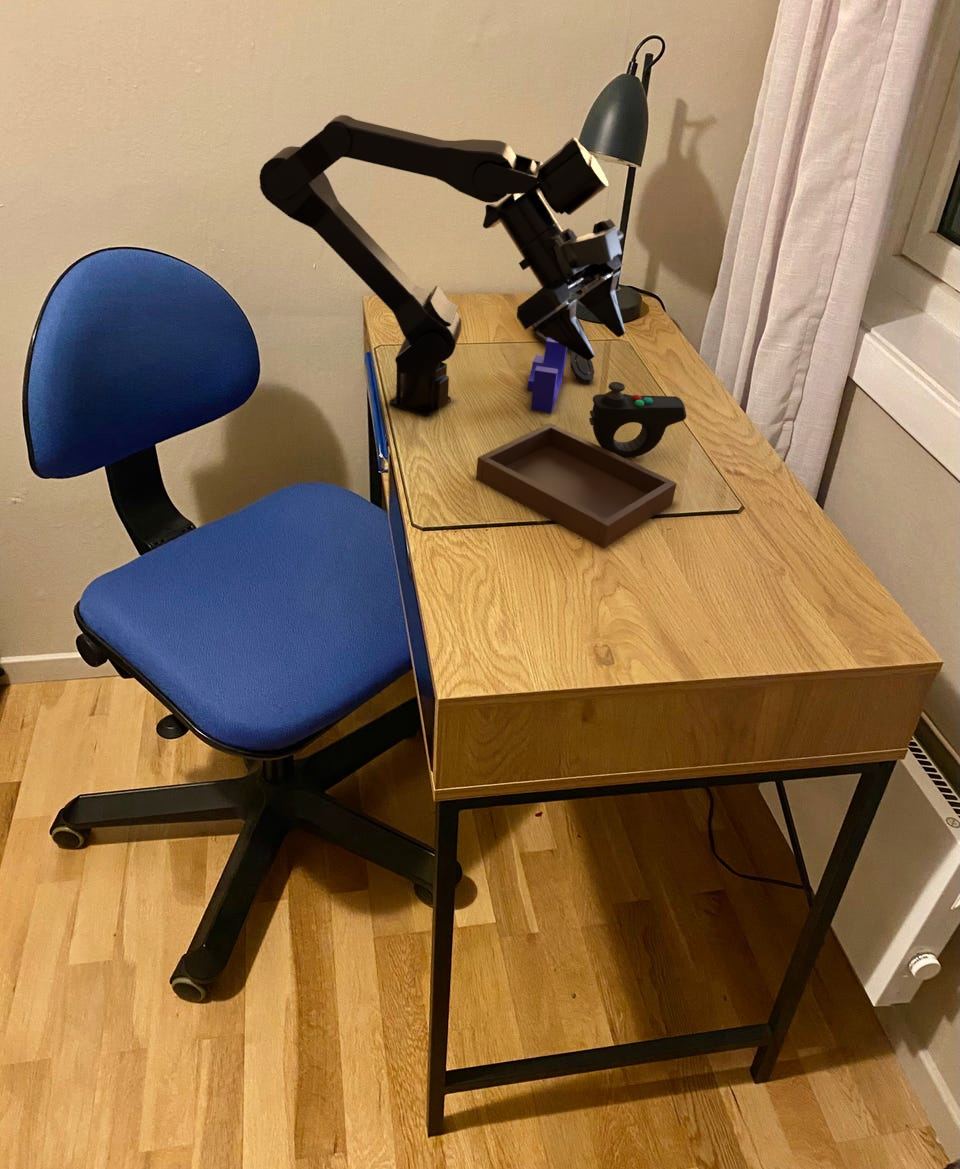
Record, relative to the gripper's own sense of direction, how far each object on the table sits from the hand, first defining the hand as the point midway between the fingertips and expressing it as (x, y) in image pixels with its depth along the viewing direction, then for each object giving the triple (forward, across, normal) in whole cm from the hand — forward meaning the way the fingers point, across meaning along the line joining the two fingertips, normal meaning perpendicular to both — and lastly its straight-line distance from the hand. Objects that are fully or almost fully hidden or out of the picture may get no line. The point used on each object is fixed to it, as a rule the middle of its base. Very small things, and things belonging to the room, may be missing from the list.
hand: (607, 346), depth 120 cm
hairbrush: (-2, +25, +21) cm, 33 cm away
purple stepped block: (+1, +9, +18) cm, 21 cm away
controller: (+14, 0, +6) cm, 15 cm away
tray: (+12, -13, +7) cm, 19 cm away
